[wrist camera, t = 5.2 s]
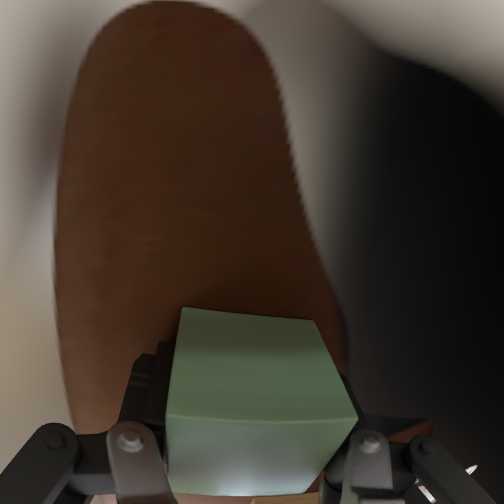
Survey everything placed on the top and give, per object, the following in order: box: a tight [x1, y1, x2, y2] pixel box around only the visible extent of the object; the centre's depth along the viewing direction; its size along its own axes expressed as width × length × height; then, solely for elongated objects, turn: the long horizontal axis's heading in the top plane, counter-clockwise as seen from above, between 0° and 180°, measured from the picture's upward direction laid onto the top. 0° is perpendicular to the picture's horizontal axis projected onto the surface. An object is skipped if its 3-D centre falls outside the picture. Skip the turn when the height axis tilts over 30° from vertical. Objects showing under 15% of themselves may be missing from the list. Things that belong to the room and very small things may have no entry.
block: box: [165, 307, 358, 496], centre depth 9 cm, size 4×4×4 cm
